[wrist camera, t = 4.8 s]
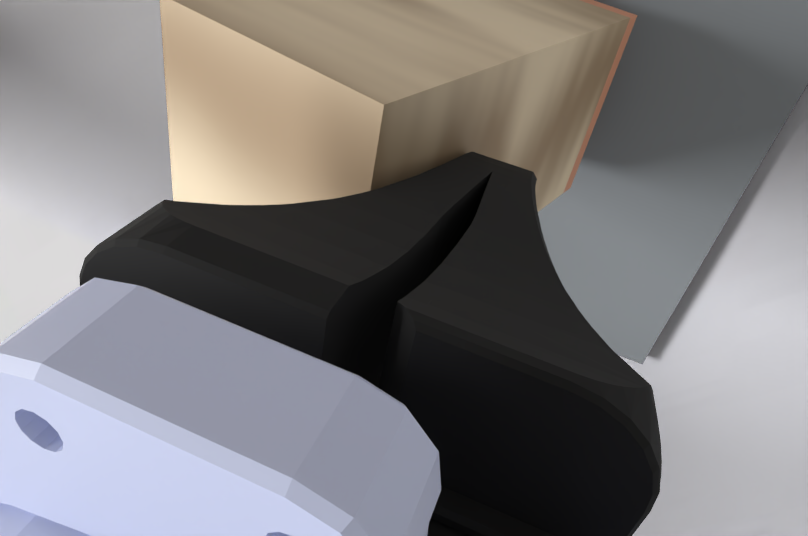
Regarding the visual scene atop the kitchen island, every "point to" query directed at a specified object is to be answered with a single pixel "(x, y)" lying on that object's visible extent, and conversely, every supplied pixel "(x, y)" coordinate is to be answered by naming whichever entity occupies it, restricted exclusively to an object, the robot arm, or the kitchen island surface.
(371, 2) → the beech block
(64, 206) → the kitchen island surface
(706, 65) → the rubber mat
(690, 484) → the kitchen island surface
